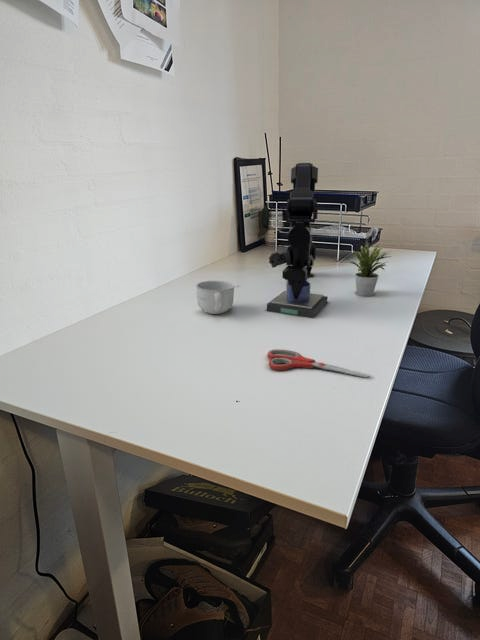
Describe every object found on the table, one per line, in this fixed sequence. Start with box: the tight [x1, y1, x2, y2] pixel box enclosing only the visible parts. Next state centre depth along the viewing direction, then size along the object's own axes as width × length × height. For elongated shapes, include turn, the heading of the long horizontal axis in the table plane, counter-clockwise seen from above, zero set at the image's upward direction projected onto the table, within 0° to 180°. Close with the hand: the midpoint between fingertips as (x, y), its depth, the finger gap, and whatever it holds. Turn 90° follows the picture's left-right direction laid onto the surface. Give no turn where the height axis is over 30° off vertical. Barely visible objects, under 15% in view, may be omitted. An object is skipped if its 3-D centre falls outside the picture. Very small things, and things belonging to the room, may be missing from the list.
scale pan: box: [270, 290, 325, 309], centre depth 118 cm, size 12×12×1 cm
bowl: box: [285, 280, 311, 302], centre depth 117 cm, size 7×7×4 cm
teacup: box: [195, 280, 235, 315], centre depth 114 cm, size 14×11×8 cm
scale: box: [266, 290, 329, 319], centre depth 118 cm, size 14×14×2 cm
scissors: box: [266, 348, 370, 378], centre depth 84 cm, size 8×21×2 cm, turn 78°
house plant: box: [347, 243, 393, 297], centre depth 125 cm, size 14×14×16 cm
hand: (298, 295), depth 117 cm, fingers open, 7 cm apart
